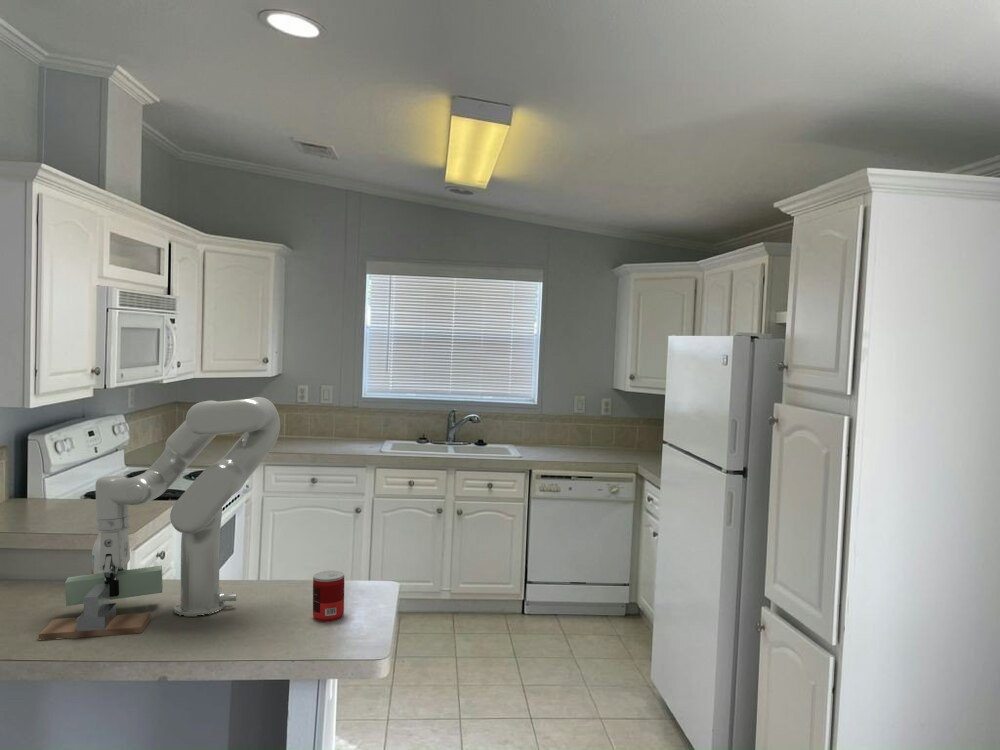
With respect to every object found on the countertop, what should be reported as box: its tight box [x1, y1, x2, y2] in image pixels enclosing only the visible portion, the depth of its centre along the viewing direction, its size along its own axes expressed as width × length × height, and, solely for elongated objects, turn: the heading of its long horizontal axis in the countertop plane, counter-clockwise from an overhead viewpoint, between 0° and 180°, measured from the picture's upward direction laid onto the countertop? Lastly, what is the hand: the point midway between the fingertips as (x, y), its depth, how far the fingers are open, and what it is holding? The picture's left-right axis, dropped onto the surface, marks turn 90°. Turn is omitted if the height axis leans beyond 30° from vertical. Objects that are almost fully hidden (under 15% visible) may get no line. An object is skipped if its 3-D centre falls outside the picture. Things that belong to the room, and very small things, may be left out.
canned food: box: [312, 570, 345, 623], centre depth 186 cm, size 8×8×11 cm
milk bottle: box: [91, 532, 112, 574], centre depth 205 cm, size 8×8×20 cm
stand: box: [38, 584, 152, 640], centre depth 175 cm, size 22×10×10 cm, turn 104°
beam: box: [64, 564, 164, 607], centre depth 188 cm, size 22×5×6 cm, turn 114°
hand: (115, 591), depth 188 cm, fingers closed on beam, 5 cm apart
